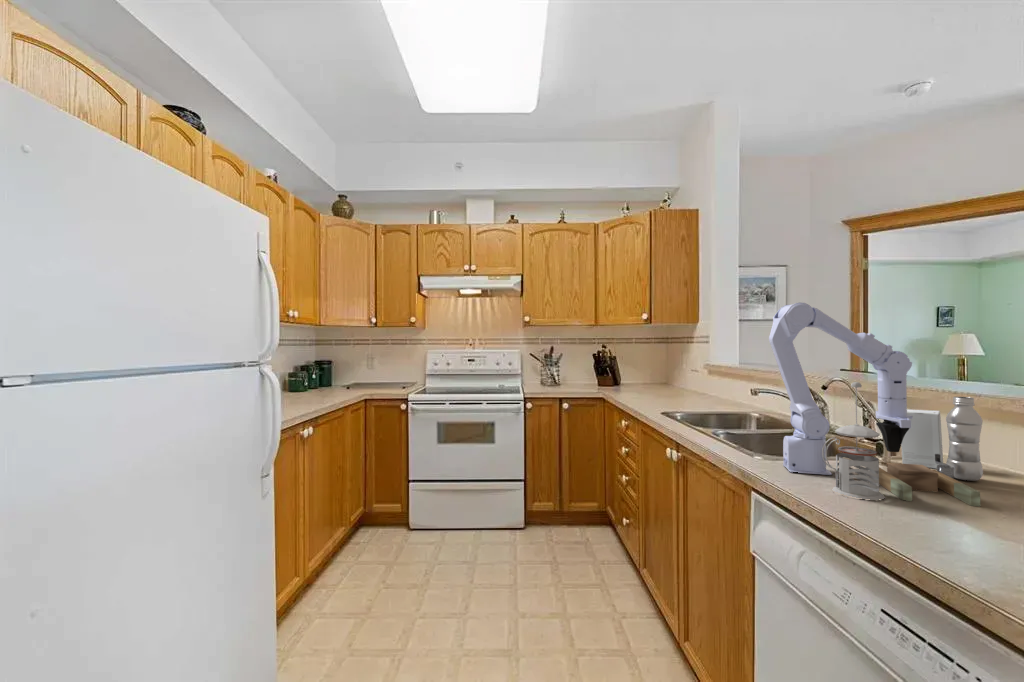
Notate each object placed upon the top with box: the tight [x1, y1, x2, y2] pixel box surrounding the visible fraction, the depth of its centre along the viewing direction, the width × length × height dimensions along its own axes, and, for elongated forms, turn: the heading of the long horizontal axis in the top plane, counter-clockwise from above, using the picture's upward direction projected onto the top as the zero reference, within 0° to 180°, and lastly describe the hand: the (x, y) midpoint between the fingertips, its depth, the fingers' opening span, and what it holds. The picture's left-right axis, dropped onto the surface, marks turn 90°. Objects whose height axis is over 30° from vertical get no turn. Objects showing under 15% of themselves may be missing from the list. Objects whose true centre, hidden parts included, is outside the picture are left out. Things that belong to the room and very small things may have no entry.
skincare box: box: [901, 408, 944, 470], centre depth 128 cm, size 8×6×15 cm
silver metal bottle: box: [945, 396, 984, 482], centre depth 114 cm, size 6×7×20 cm
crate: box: [886, 462, 939, 493], centre depth 110 cm, size 7×7×4 cm
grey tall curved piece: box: [822, 381, 886, 500], centre depth 105 cm, size 10×12×25 cm
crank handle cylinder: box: [935, 454, 955, 479], centre depth 112 cm, size 3×5×6 cm, turn 162°
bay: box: [879, 467, 981, 507], centre depth 107 cm, size 13×18×3 cm
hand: (892, 451), depth 119 cm, fingers closed
